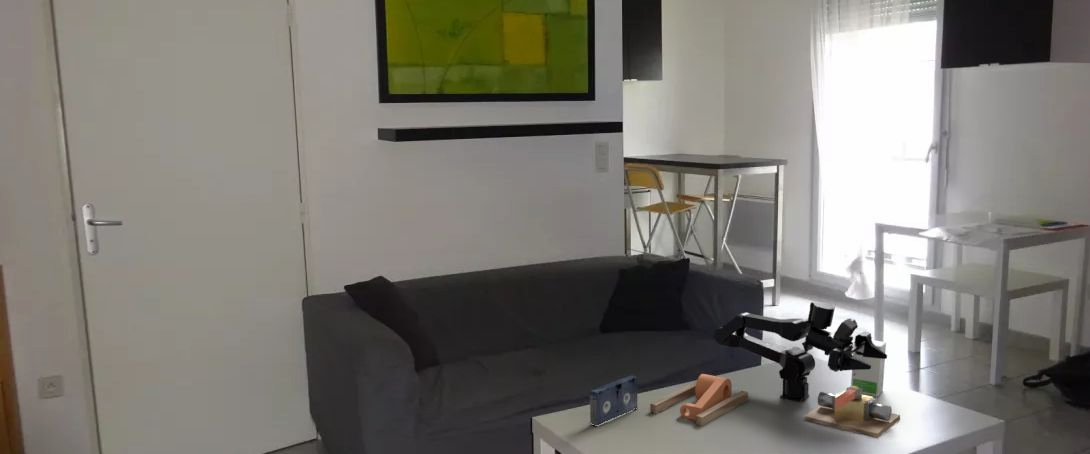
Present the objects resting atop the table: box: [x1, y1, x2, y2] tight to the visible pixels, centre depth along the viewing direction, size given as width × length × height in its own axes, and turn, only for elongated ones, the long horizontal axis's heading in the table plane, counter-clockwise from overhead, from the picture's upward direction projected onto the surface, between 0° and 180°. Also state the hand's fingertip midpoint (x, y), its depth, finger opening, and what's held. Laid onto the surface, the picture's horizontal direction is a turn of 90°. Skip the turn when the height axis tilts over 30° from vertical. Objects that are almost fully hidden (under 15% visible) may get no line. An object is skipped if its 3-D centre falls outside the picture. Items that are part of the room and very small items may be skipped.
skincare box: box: [850, 339, 887, 398], centre depth 248 cm, size 8×7×16 cm
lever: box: [835, 385, 863, 407], centre depth 223 cm, size 13×4×3 cm, turn 138°
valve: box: [817, 390, 893, 421], centre depth 227 cm, size 19×7×5 cm, turn 48°
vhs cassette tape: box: [589, 374, 638, 425], centre depth 231 cm, size 18×3×10 cm, turn 134°
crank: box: [679, 373, 733, 421], centre depth 237 cm, size 20×8×8 cm, turn 143°
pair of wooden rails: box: [649, 380, 749, 427], centre depth 239 cm, size 17×26×2 cm, turn 138°
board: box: [803, 405, 901, 438], centre depth 227 cm, size 20×17×1 cm
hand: (878, 362), depth 225 cm, fingers open, 9 cm apart
